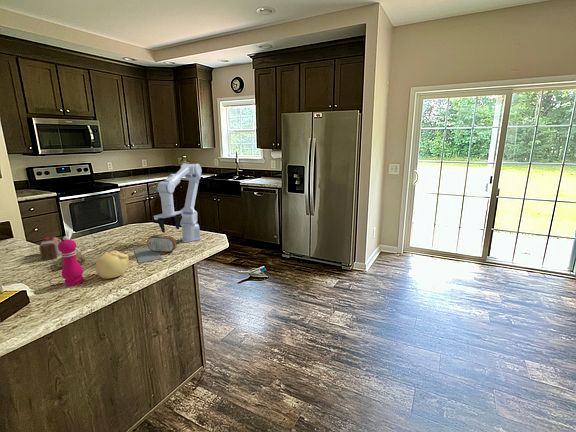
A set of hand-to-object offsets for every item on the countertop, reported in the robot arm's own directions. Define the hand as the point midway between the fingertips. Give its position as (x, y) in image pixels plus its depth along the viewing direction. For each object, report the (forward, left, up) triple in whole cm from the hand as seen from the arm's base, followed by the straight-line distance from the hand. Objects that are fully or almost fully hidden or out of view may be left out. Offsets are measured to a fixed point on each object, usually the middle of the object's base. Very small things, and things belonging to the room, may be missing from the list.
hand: (170, 230), depth 158 cm
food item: (+53, -25, -11) cm, 60 cm away
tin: (+5, +1, -10) cm, 12 cm away
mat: (+12, +1, -10) cm, 16 cm away
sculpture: (+28, +19, -11) cm, 36 cm away
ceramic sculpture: (+44, -7, -11) cm, 46 cm away
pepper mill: (+42, +18, -11) cm, 47 cm away
